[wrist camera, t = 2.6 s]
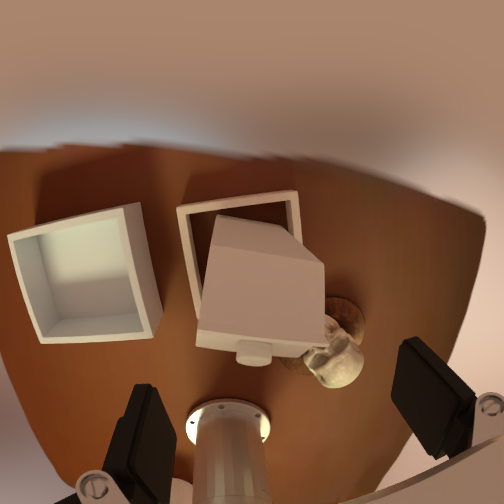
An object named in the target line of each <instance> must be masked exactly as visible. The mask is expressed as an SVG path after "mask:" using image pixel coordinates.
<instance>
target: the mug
mask: <svg viewBox="0 0 504 504" xmlns="http://www.w3.org/2000/svg"><path fill="white" fill-rule="evenodd" d="M192 491H193V486H192V485H191V484H190V483H188V482H187V481H184V480H181V479H177V478H172V486H171V496H170V504H192Z"/></svg>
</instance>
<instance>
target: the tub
mask: <svg viewBox="0 0 504 504" xmlns="http://www.w3.org/2000/svg"><path fill="white" fill-rule="evenodd" d="M7 237H8V241H9V246H10V250H11V254H12V259H13V262H14V266H15V270H16V274H17V277H18V281H19V284H20V287H21V291H22V294H23V297H24V300H25V303H26V306H27V309H28V312H29V315H30V317H31V320H32V323H33V325H34V328H35V331H36V333H37V336H38V338H39V341H40V343H41V344H49V343H84V342H104V341H120V340H134V339H146V338H154V335H155V333H156V330H157V328H158V325H159V323H160V320H161V318H162V315H163V309H162V305H161V301H160V297H159V292H158V288H157V284H156V280H155V275H154V271H153V266H152V261H151V257H150V252H149V247H148V242H147V237H146V231H145V226H144V220H143V214H142V209H141V202H137V203H131V204H126V205H121V206H116V207H112V208H107V209H102V210H98V211H93V212H89V213H84V214H80V215H75V216H71V217H67V218H63V219H59V220H55V221H51V222H47V223H43V224H39V225H35V226H32V227H29V228H26V229H23V230H20V231H17V232H15V233H12V234H9V235H7Z"/></svg>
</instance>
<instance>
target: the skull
mask: <svg viewBox="0 0 504 504" xmlns="http://www.w3.org/2000/svg"><path fill="white" fill-rule="evenodd" d="M364 331H365V322H364V318H363V315H362V313H361V311H360V310H359V308H358V307H357V306H356V305H355V304H353V303H352V302H350V301H348V300H345V299H342V298H335V297H333V298H331V297H329V298H325V330H324V335H325V337H326V339H327V340H328V342H329V343H330V345H329V347H316V346H312V347H311V348H310V349H309V350H307V351H306V352H305V353H304V354H302V355H301V356H300V357H298V358H292V357H279V358H280V360H281V361H282V363H283V364H284V365H285V366H286V367H287V368H288V369H289V370H291V371H292V372H295V373H298V374H303V375H315V376H316V377H317V379H318V380H319V381H320V383H321V384H322V385H323V386H325V387H328V388H339V387H343V386H346V385H348V384H350V383H351V382H352V381H353V380H355V378H356V377H357V376H358V375H359V373H360V372H361V369H362V367H363V363H364V357H363V354H362V352H361V350H360V349H359V347H358V346H359V344H361V342H362V339H363V336H364Z"/></svg>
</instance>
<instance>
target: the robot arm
mask: <svg viewBox="0 0 504 504" xmlns="http://www.w3.org/2000/svg"><path fill="white" fill-rule="evenodd" d="M391 398H392V401H393V403H394V404H395V406H396V407H397V409H398V410H399V412H400V413H401V414H402V416H403V417H404V419H405V420H406V422H407V423H408V425H409V426H410V428H411V429H412V431H413V433H414V434H415V436H416V437H417V438H418V440H419V441H420V443H421V445H422V446H423V448H424V449H425V451H426V452H427V454H428V455H430V456H431V455H432V456H433V457H434V458H435V460H437V459H439V458H441V457H443V456H445V455H446V454H447V456H448V457H449V460H447V461H445V462H443V463H441V464H439V465H437V466H435V467H433V468H431V469H429V470H427V471H425V472H423V473H421V474H418V475H416V476H414V477H412V478H409V479H407V480H405V481H403V482H400V483H397V484H395V485H392V486H390V487H387V488H385V489H382V490H379V491H376V492H373V493H370V494H368V495H365V496H362V497H358V498H355V499H352V500H349V501H345V502H342V503H338V504H504V397H503V396H502V395H500V394H498V393H493V392H488V393H484V394H482V395H481V396H479V397H478V398H477V397H476V396H475V392H473V390H472V389H471V388H469V386H468V385H467V384H466V383H465V382H464V381H463V380H462V379H461V378H460V377H459V376H458V375H457V374H456V373H455V372H454V371H453V370H452V369H451V368H450V367H449V366H448V365H447V364H446V363H445V362H444V361H443V360H442V359H441V358H440V357H439V356H437V355H436V354H435V353H434V352H433V351H432V350H431V349H430V348H429V347H428V346H427V345H426V344H425V343H424V342H423V341H422V340H421V339H420V338H419V337H417V336H415V337H412V338H409V339H406V340H404V341H403V342H402V344H401V345H400V346H399V351H398V357H397V364H396V369H395V375H394V381H393V386H392V391H391ZM186 432H187V435H188V437H189V438H190V440H191V441H192V442H193V443H194V444H195V453H194V471H193V491H192V504H273V501H272V495H271V490H270V484H269V478H268V472H267V466H266V460H265V454H264V448H263V442H264V441H265V440H266V439H267V437H268V436H269V433H270V421H269V418H268V416H267V414H266V413H265V412H264V410H262V409H261V408H260V407H259V406H257V405H255V404H253V403H251V402H248V401H244V400H239V399H229V398H225V399H216V400H211V401H208V402H205V403H202V404H201V405H199V406H197V407H196V408H195V409H193V410H192V411H191V412H190V414H189V415H188V418H187V420H186ZM176 442H177V437H176V433H175V430H174V428H173V426H172V424H171V421H170V419H169V417H168V415H167V412H166V410H165V407H164V405H163V403H162V400H161V398H160V395H159V393H158V390H157V388H156V387H152V385H151V384H136V385H135V386H134V388H133V391H132V394H131V396H130V399H129V402H128V405H127V408H126V411H125V414H124V417H120V418H119V420H118V422H117V425H116V427H115V430H114V433H113V436H112V439H111V442H110V445H109V448H108V452H107V455H106V458H105V461H104V464H103V467H102V471H100V470H92V471H88V472H86V473H84V474H83V475H81V476H80V478H79V479H78V480H77V483H76V493H75V494H72V495H71V496H68V497H67V498H65V499H62V500H61V501H58V502H56V503H54V504H170V496H171V486H172V476H173V467H174V459H175V450H176Z"/></svg>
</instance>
